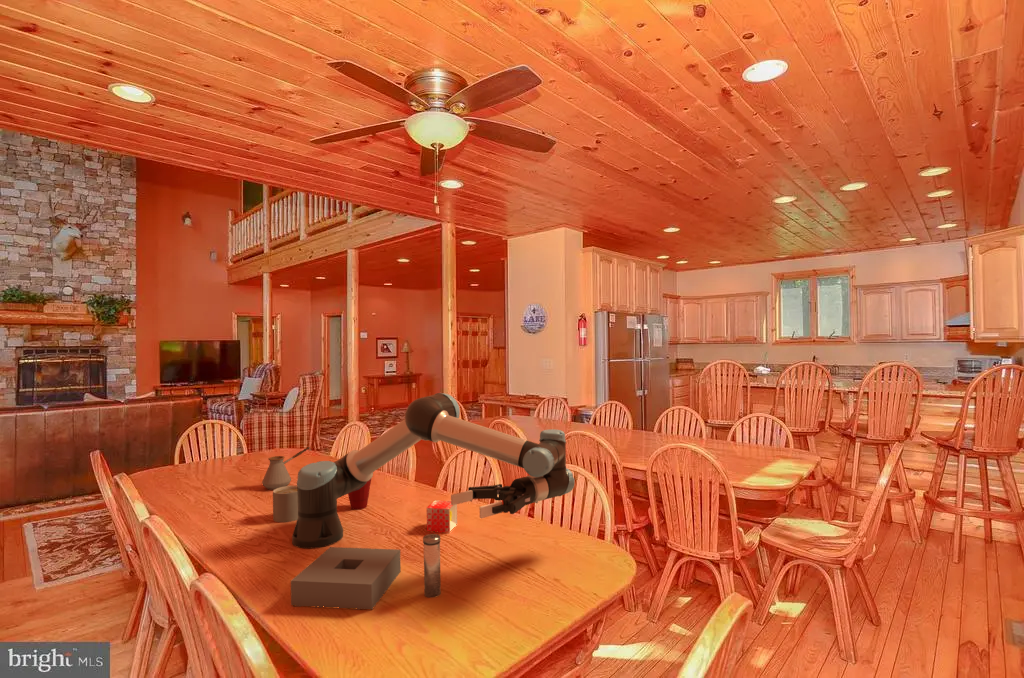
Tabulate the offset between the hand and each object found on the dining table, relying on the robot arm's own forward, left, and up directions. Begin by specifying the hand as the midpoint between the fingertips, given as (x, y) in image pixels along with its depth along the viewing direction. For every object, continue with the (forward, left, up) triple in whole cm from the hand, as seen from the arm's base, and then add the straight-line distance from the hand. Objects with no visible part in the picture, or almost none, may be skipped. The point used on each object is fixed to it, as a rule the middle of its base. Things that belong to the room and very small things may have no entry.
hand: (465, 506), depth 135 cm
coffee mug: (-73, +44, -20) cm, 88 cm away
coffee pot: (-97, +82, -20) cm, 129 cm away
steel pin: (-7, -7, -20) cm, 22 cm away
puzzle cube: (-16, +37, -20) cm, 45 cm away
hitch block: (-29, -6, -20) cm, 36 cm away
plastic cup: (-53, +55, -20) cm, 79 cm away
